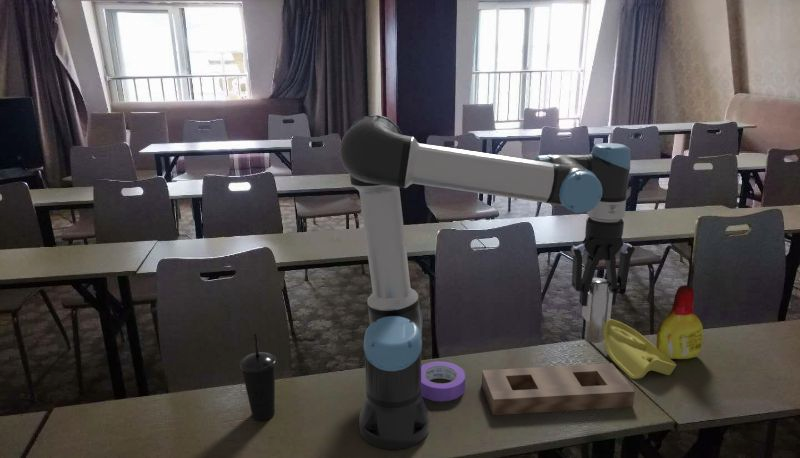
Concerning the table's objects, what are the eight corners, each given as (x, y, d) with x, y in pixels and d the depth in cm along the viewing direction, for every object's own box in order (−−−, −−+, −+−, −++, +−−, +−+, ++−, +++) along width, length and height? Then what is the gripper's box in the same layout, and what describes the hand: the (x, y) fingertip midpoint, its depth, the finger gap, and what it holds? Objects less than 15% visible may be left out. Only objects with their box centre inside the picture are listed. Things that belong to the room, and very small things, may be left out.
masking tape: (475, 389, 136) (475, 375, 135) (439, 408, 129) (439, 393, 128) (441, 369, 145) (441, 356, 144) (406, 386, 138) (406, 372, 137)
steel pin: (588, 343, 127) (594, 285, 123) (581, 334, 131) (586, 278, 127) (606, 342, 127) (612, 284, 123) (598, 333, 131) (604, 277, 127)
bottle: (660, 364, 145) (670, 292, 139) (647, 351, 151) (656, 282, 145) (705, 361, 146) (716, 289, 140) (690, 349, 152) (701, 279, 146)
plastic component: (680, 367, 140) (651, 357, 136) (664, 391, 141) (635, 382, 138) (631, 326, 157) (604, 316, 154) (617, 348, 159) (590, 338, 155)
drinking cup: (243, 409, 130) (234, 330, 124) (277, 401, 132) (270, 323, 126) (248, 428, 123) (239, 346, 117) (283, 420, 126) (276, 339, 120)
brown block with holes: (492, 415, 126) (493, 399, 125) (481, 384, 138) (482, 370, 137) (633, 406, 128) (635, 391, 127) (610, 377, 140) (612, 363, 139)
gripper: (572, 224, 116) (564, 327, 124) (653, 221, 118) (640, 323, 125) (559, 214, 124) (553, 312, 131) (636, 211, 125) (625, 308, 132)
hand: (595, 317), depth 128 cm, fingers closed on steel pin, 4 cm apart
